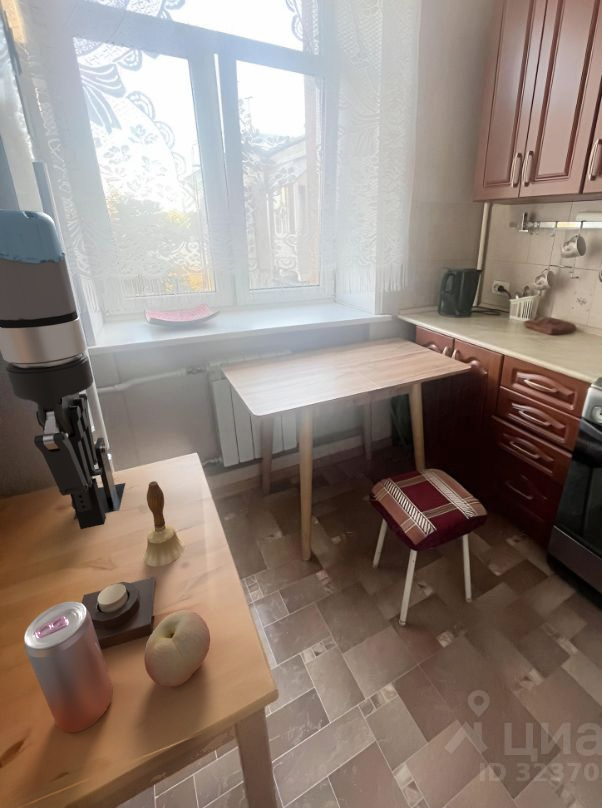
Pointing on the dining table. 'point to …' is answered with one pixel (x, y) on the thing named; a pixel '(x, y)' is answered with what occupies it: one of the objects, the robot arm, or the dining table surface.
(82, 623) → the beverage can
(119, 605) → the button
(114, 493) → the switch bracket
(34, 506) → the dining table surface
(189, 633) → the fruit
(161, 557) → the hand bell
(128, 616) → the button block
